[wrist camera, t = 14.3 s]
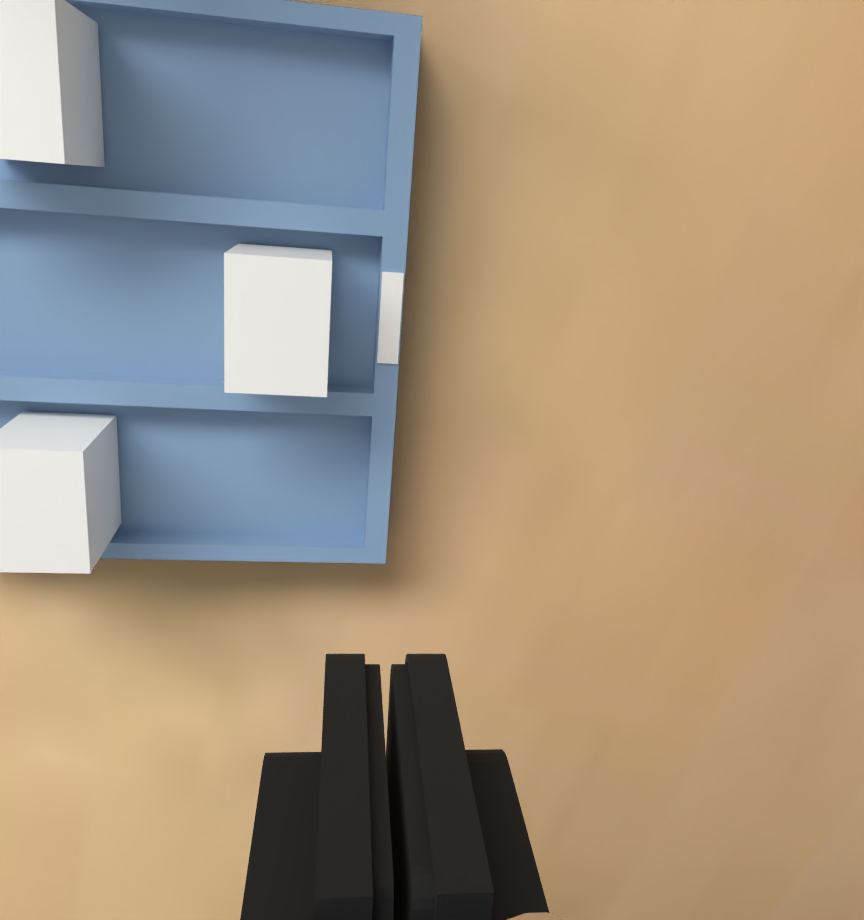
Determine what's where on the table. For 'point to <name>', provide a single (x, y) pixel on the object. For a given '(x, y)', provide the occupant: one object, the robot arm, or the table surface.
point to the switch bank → (222, 271)
